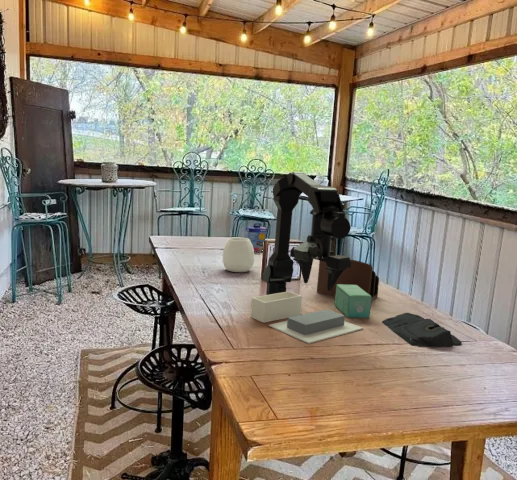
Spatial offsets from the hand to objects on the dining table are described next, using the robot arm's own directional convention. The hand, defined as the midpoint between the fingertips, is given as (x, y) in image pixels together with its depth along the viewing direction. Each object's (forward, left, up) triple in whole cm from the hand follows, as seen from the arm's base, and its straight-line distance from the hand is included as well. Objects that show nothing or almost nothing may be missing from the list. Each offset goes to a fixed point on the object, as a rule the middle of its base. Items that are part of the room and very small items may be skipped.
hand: (317, 286), depth 142 cm
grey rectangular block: (+1, 0, -11) cm, 11 cm away
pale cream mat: (+1, 0, -12) cm, 12 cm away
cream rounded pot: (-67, +23, -12) cm, 72 cm away
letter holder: (-19, +36, -12) cm, 43 cm away
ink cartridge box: (-99, +58, -12) cm, 115 cm away
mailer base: (-13, -3, -12) cm, 18 cm away
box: (-4, +21, -12) cm, 25 cm away
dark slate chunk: (+20, +23, -13) cm, 33 cm away
